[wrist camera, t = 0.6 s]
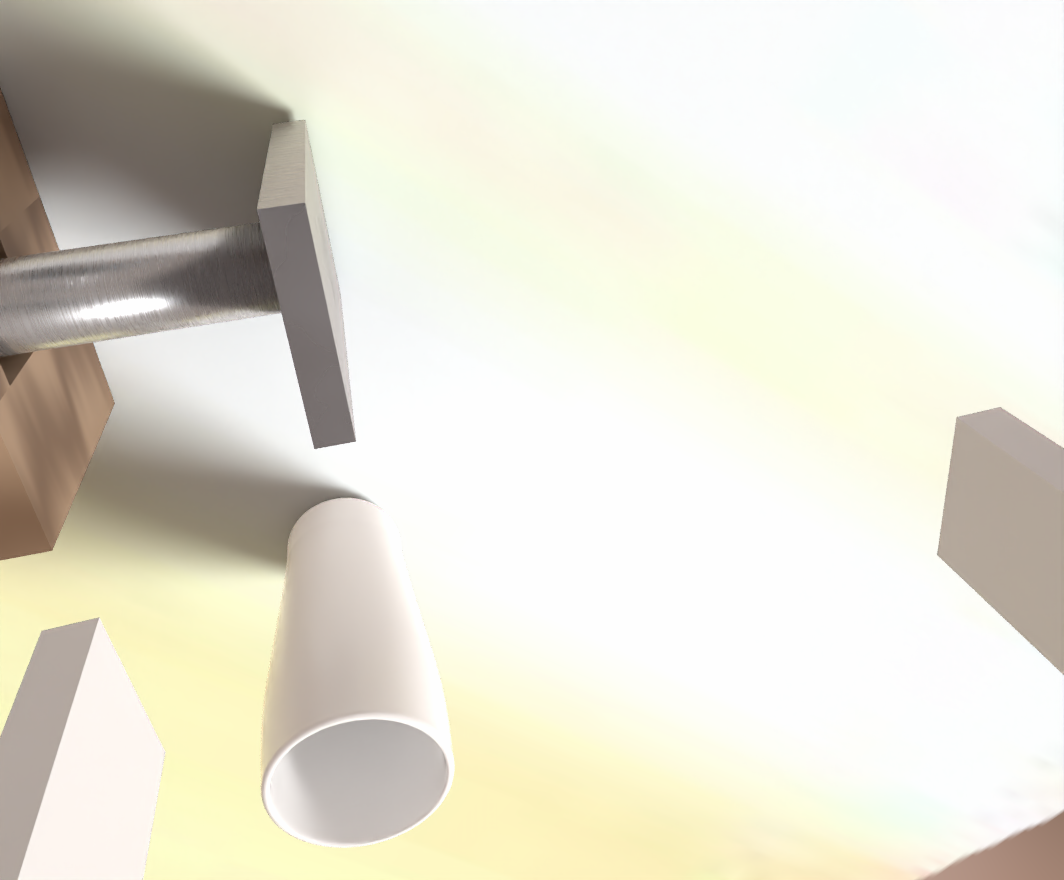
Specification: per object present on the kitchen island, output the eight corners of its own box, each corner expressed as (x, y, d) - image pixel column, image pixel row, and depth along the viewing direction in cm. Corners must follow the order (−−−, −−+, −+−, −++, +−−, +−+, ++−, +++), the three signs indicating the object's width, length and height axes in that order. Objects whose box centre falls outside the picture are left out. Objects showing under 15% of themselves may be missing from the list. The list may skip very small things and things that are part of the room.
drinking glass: (348, 614, 45) (364, 874, 33) (242, 546, 42) (214, 805, 29) (441, 530, 44) (496, 765, 31) (339, 453, 41) (355, 681, 28)
